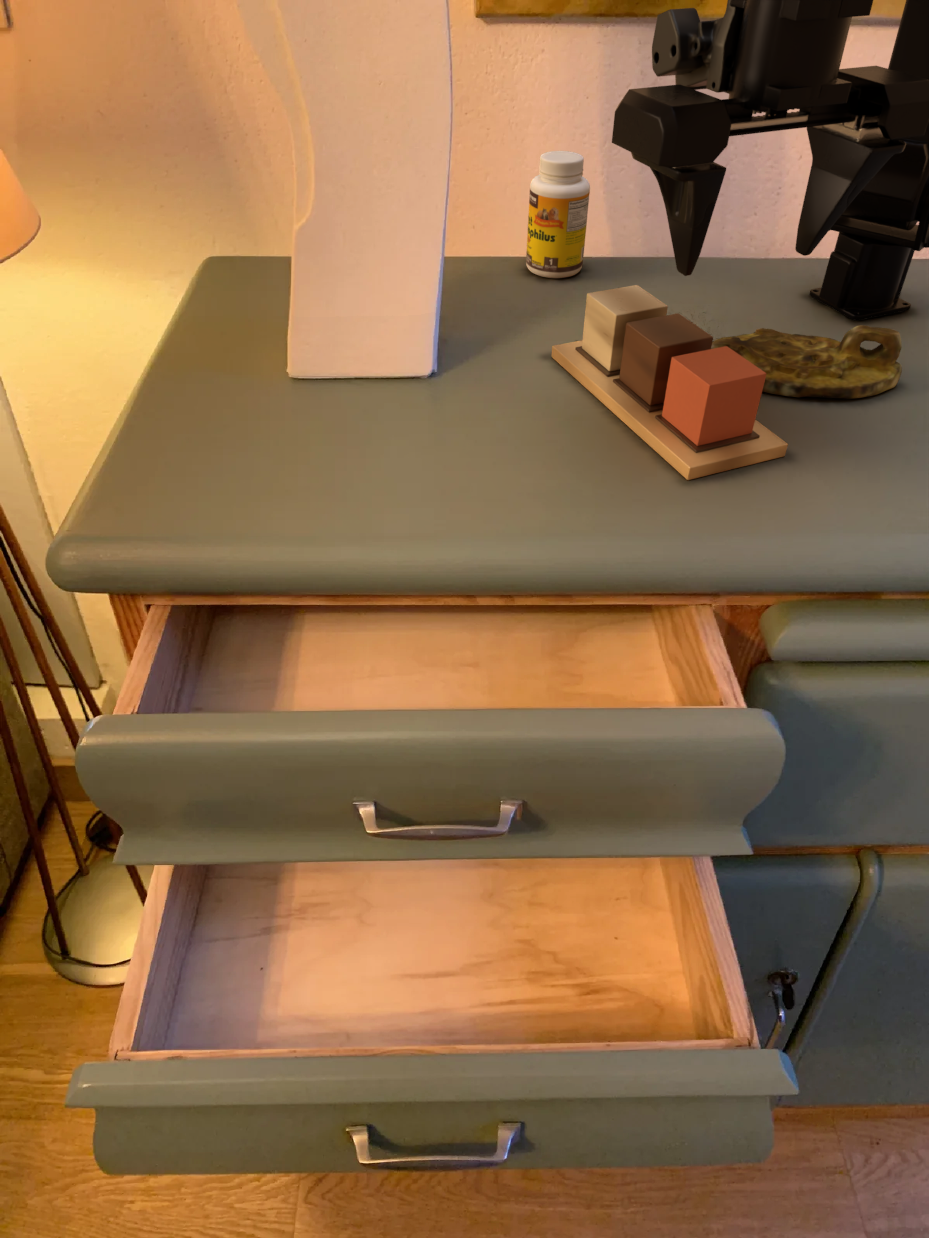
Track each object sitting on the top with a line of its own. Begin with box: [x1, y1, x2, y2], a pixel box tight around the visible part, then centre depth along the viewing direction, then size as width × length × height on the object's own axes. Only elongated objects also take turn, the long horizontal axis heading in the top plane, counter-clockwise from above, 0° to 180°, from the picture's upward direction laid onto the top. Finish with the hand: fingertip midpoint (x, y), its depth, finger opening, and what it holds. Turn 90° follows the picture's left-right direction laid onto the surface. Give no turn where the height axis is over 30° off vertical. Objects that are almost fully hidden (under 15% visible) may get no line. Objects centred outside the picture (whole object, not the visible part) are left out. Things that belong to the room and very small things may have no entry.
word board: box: [551, 284, 789, 481], centre depth 66 cm, size 8×20×6 cm, turn 23°
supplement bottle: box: [525, 150, 591, 279], centre depth 84 cm, size 6×6×10 cm
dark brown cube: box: [619, 312, 714, 405], centre depth 65 cm, size 4×4×4 cm
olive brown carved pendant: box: [711, 324, 903, 400], centre depth 70 cm, size 9×5×15 cm
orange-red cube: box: [662, 346, 766, 446], centre depth 61 cm, size 4×4×4 cm
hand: (744, 263), depth 57 cm, fingers open, 9 cm apart
